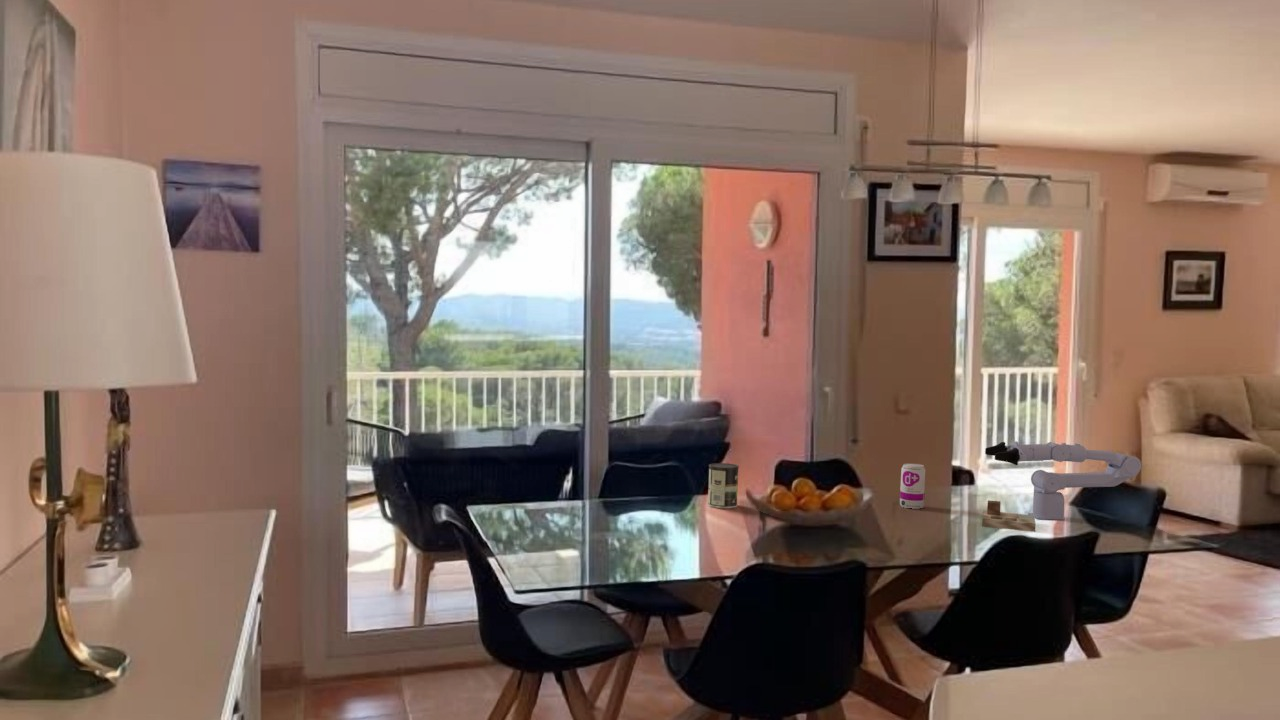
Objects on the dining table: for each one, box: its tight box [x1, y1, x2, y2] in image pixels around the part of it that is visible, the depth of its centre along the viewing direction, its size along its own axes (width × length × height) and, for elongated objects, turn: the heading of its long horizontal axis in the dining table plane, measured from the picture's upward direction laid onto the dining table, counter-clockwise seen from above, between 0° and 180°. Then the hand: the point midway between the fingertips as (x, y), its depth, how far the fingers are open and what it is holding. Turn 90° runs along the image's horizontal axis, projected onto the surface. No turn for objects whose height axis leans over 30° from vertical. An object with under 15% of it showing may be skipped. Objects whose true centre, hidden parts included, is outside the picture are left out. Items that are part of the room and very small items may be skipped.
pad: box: [1017, 513, 1036, 521], centre depth 315 cm, size 5×8×2 cm, turn 159°
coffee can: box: [707, 462, 739, 510], centre depth 329 cm, size 10×10×14 cm
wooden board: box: [981, 510, 1036, 532], centre depth 314 cm, size 16×14×2 cm
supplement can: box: [899, 463, 927, 510], centre depth 337 cm, size 8×8×15 cm
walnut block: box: [986, 500, 1001, 516], centre depth 318 cm, size 4×4×4 cm
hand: (990, 454), depth 325 cm, fingers open, 7 cm apart
